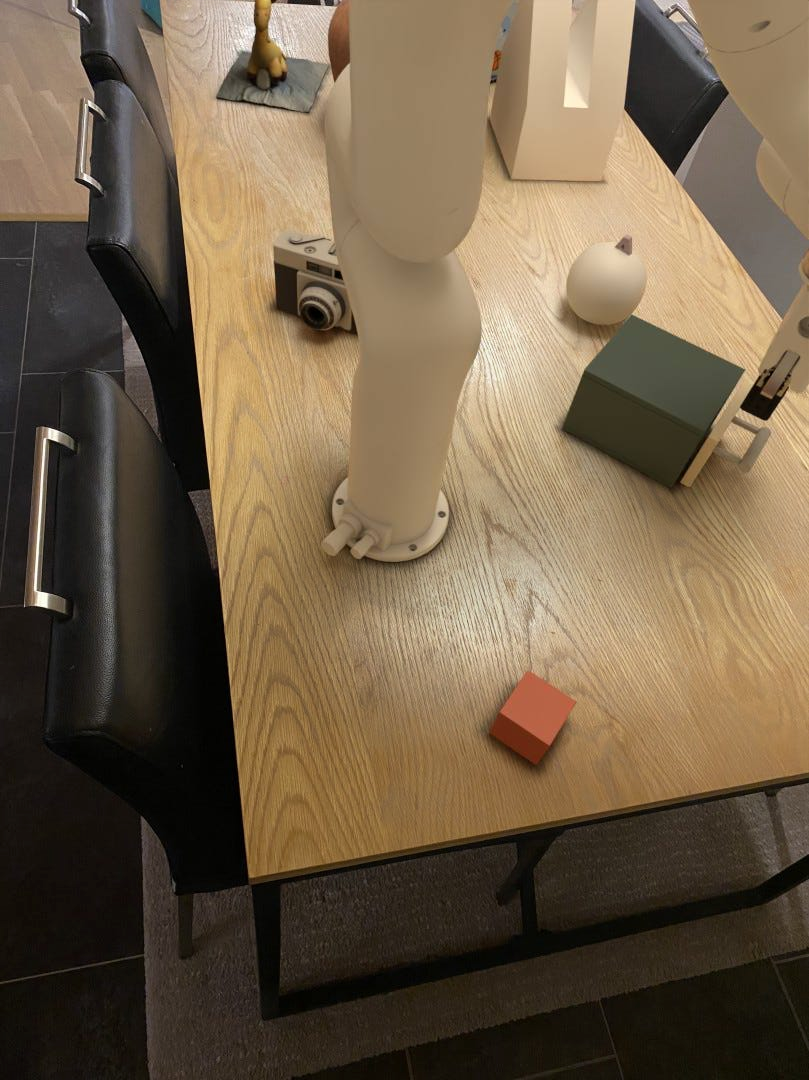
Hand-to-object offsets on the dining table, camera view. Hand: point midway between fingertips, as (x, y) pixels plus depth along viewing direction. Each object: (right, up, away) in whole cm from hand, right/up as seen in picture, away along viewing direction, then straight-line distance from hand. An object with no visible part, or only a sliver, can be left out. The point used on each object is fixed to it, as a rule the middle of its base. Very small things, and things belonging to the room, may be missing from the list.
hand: (755, 410), depth 83 cm
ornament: (-12, +17, +23) cm, 31 cm away
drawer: (-6, -2, +9) cm, 11 cm away
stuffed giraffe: (-61, +67, +52) cm, 105 cm away
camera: (-49, +14, +17) cm, 53 cm away
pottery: (-40, +56, +47) cm, 83 cm away
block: (-27, -31, -13) cm, 43 cm away
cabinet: (-10, 0, +11) cm, 14 cm away
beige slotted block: (-14, +53, +47) cm, 72 cm away
